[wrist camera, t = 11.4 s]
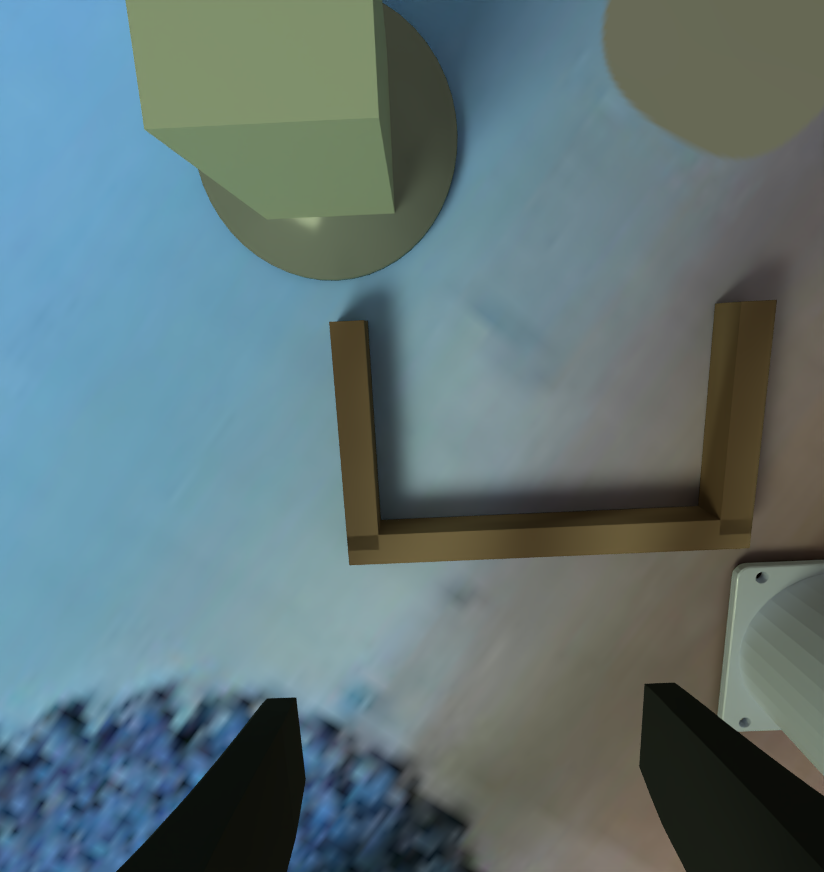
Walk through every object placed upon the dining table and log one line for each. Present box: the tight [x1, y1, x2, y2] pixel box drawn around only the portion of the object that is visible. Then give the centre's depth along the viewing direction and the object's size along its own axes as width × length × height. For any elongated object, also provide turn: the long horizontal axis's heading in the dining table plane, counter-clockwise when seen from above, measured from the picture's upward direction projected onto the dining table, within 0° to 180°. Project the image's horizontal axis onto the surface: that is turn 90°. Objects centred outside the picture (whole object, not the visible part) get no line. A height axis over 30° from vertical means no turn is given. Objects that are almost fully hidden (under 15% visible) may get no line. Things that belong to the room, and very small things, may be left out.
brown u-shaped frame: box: [329, 300, 777, 565], centre depth 19 cm, size 15×9×2 cm, turn 93°
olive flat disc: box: [198, 3, 457, 281], centre depth 17 cm, size 9×9×1 cm
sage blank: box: [126, 0, 395, 219], centre depth 13 cm, size 4×5×8 cm
